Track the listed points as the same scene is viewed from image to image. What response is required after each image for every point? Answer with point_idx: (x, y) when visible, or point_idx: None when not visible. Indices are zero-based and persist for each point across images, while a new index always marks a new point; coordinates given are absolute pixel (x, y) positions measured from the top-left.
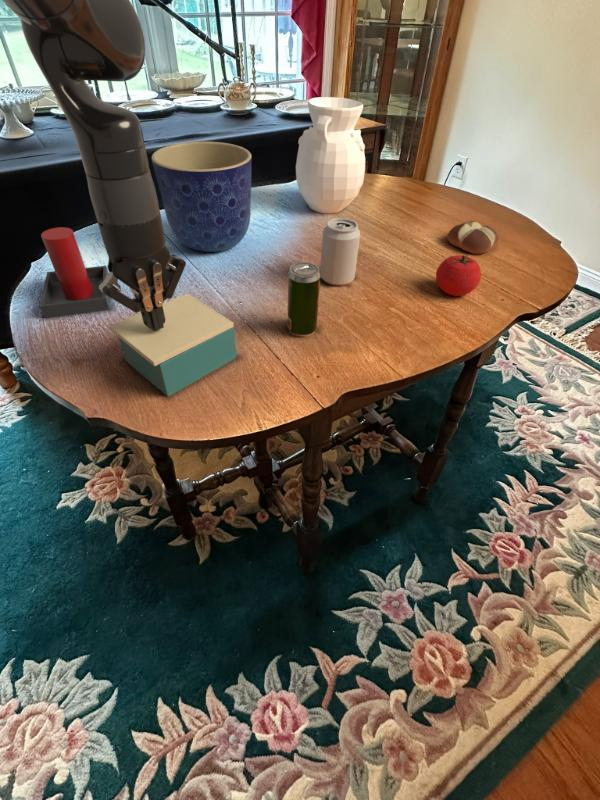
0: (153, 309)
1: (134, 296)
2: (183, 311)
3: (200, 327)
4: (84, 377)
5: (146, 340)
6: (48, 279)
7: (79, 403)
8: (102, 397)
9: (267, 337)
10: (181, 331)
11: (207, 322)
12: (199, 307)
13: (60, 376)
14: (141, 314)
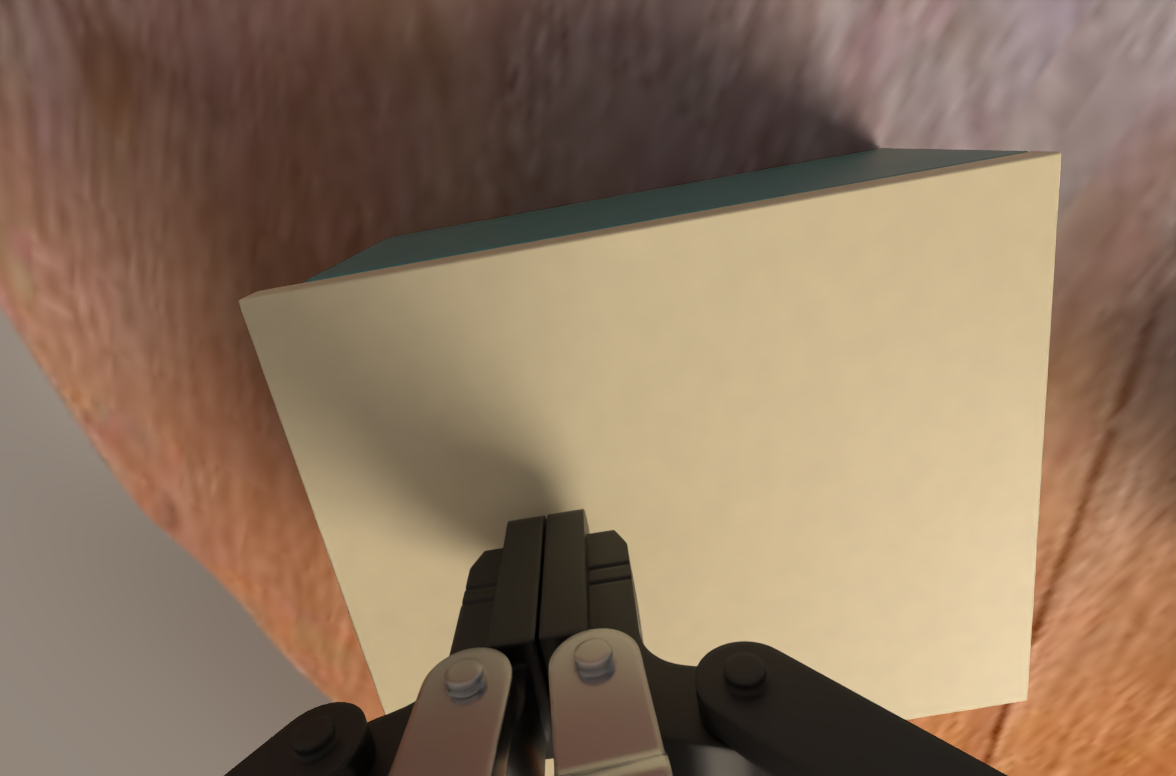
0: (550, 749)
1: (396, 765)
2: (847, 421)
3: (824, 652)
4: (143, 246)
5: (449, 609)
6: None
7: (103, 428)
8: (213, 446)
9: (1132, 474)
10: (696, 630)
11: (897, 624)
12: (982, 430)
13: (9, 156)
14: (457, 624)
